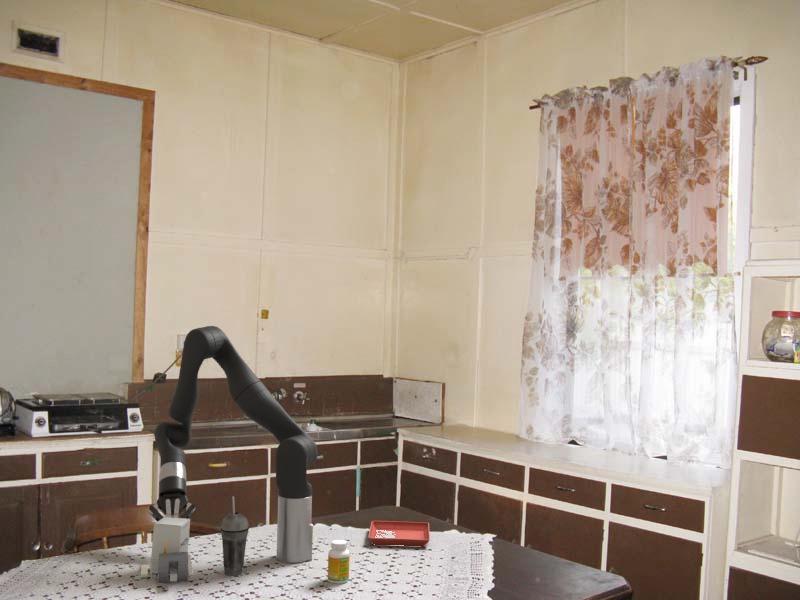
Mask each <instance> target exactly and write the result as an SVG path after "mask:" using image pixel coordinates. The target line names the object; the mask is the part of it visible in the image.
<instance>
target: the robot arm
mask: <svg viewBox="0 0 800 600" xmlns="http://www.w3.org/2000/svg"><path fill="white" fill-rule="evenodd" d="M182 347H183V348H182V353H181V360H180V361H181V362H180V365H179V366H180V367H179V374H178V379H177V384H176V387H175V390H174V394H173V396H172V397H173V398H172V400H171V404H170V406H169V409H168V415H169V417H170V419H172V420H174V421H176V422H178V423H175V422H171V421H163V422H160V423H159V424H158V425H157V426H156V427H155V431H154V441H155V444H156V447H157V450H158V453H159V457H160V461H159V462H160V464H159V465H160V466H159V475H158V498H157V500H156V503H155V504H154V505H150V506H149V507H148V513H149V515H150V516H151V517H152V518H153V519H154V520H155V521H156V522H158V521H159V520H161V519H162V518H164V516H165V517H171V518H172V516H173V518H185V519H190V517H191V516H192V515H193V514H194V513H195V511H196V504H195V503H191V502H189V498H188V497H187V482H188V481H187V470H186V453H185V451H184V450H183V448H186V447H187V446H188V445H189V444H190V442H191V439H192V422H193V416H194V412H195V410H196V407H197V404H198V401H199V397H200V386H199V379H198V377H199V372H200V369H201V366H202V365H203V362H204V361H205V360H207V359H213V360H214V361H215V362H216V363H217V364H218V366H219V367H220V368H221V369H222V370H223V372H224V374H225V376H226V377H225V378H226V380H227V386H228V390H229V393H230V396H231V398H232V400H233V401H234V402H235V404H236V405H237V407H239V409H240V410H241V411H242V413H244V414H245V416H246V417H248V418H249V419H250V420H252V421H253V422H254V423H256V424H257V425H259V426H261V427H263V428H264V429H265V430H267V431H268V432H269V433H271V434H272V435H273V436H274V437H275V438H276V440H277V441H278V442H279V444H278V446H277V448H276V451H275V483H276V484H275V485H276V487H277V490H278V491H277V495H278V496H277V497H278V498H277V524H276V525H277V528H276V531H277V533H276V534H277V535H276V559H277V560H278V561H279V562H282V563H291V564H294V563H295V564H296V563H297V564H298V563H302V562H306V561H311V560H313V538H314V536H313V533H314V532H313V530H314V525H313V523H312V512H313V510H312V508H313V507H312V506H313V503H312V502H313V501H312V500H313V486H312V484H311V483H310V482H309V481H308V477H307V476H308V474H307V472H308V471H307V469H308V467H311V466H312V465H314V464H315V463H316V461H317V459H318V455H319V451H318V447H317V444H316V442H315V441H314V439H313V438H312V436H310V435H309V434H308V433H307V432H306V431H305V430H304V429H303V428H302V427H301V426H300V425H299V424H298V423H296V421H295V420H294V419H293V418H292V417H291V416H290V415H289V413H287V412H286V410H285V409H284V407H282V405H281V404H280V403H279V401H278V400H277V399H276V398H275V396H273V394H272V393H271V391H270V390H269V389H268V388H267V386H266V385H265V384H264V382H262V380H261V379H260V378H259V377H258V376H257V374H255V373H254V371H252V369H251V368H250V367H249V365H248V364H247V363H246V362H245V360H244V359H243V358H242V357H241V355H240V354H239V352H238V350H237V349H236V348H235V346H234V345H233V343H232V341H231V340H230V338H229V337H228V336H227V334H226V333H225V332H224V331H223V330H222V329H221V328H220V327H219V326H216V325H207V326H203V327H197V328H193V329H191V330H190V331H189V332H188V333H187V334H186V336H185V339H184V341H183V346H182ZM159 510H160V511H159ZM184 510H185V511H184ZM183 511H184V513H183ZM160 512H162V514H163V515H164V516H163V515H162V514H161V513H160ZM182 513H183V514H182ZM180 514H182V515H181V516H180V517H179V515H180Z"/></svg>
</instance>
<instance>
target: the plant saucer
mask: <svg viewBox="0 0 800 600" xmlns="http://www.w3.org/2000/svg"><path fill="white" fill-rule="evenodd" d="M376 530H384V531H385V530H386V531H392V532H395V533H392V535H394V534H396V535H394V536H395V538H385V537H383V536H382V535H381V534H385V535H386V533H384V532H383V533H382V532H381V531H378V533H381V534H377V532H376ZM430 532H431V531H430V523H429V522H423V521H422V522H421V521H420V522H417V521H397V520H395V521H394V520H391V521H390V520H372V521H371V522H370V527H369V532H368V536H367V538H368V540H369V541H370V542H371V544H372V545H373V544H375V545H404V546H421V547H420V548H424V547H425V546H426V545H427V544H428V543H429V542H430V540H431V536H430V535H431V534H430ZM376 534H377V535H379V536H380V535H381V536H382V537H383V538H375V536H376ZM387 535H388V534H387ZM376 537H377V536H376ZM375 545H374V546H375Z"/></svg>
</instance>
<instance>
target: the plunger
mask: <svg viewBox="0 0 800 600" xmlns="http://www.w3.org/2000/svg"><path fill="white" fill-rule="evenodd" d="M164 553H166V541H164ZM177 567H178V561H172V562H169V573H168V576H169V582H177Z"/></svg>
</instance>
